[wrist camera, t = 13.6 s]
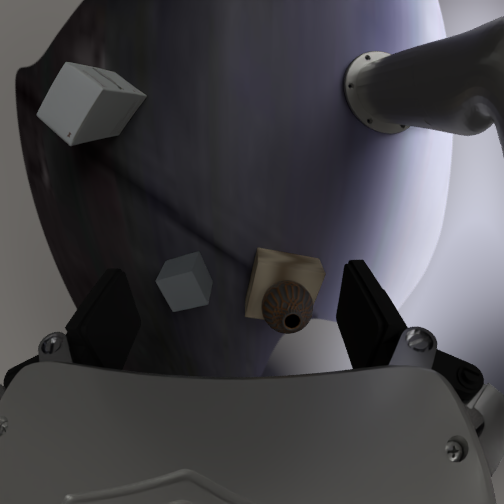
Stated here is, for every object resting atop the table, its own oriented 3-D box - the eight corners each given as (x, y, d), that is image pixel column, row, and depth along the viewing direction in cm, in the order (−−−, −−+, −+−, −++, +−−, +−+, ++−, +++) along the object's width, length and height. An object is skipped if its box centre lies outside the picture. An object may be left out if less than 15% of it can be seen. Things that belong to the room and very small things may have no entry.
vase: (302, 321, 40) (314, 349, 31) (257, 317, 40) (258, 344, 31) (311, 278, 39) (326, 296, 30) (264, 272, 39) (267, 290, 30)
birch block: (318, 257, 43) (325, 273, 39) (300, 305, 48) (305, 324, 43) (257, 246, 42) (258, 262, 38) (245, 297, 47) (244, 316, 42)
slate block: (199, 250, 42) (192, 271, 37) (212, 281, 45) (208, 304, 39) (166, 260, 43) (155, 280, 38) (180, 289, 46) (173, 312, 40)
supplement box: (149, 95, 31) (105, 89, 20) (119, 136, 33) (69, 149, 22) (115, 70, 29) (65, 59, 17) (88, 110, 31) (34, 116, 20)
